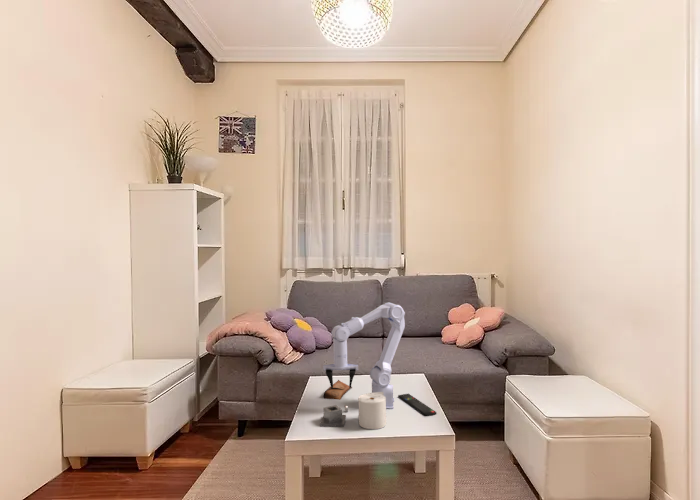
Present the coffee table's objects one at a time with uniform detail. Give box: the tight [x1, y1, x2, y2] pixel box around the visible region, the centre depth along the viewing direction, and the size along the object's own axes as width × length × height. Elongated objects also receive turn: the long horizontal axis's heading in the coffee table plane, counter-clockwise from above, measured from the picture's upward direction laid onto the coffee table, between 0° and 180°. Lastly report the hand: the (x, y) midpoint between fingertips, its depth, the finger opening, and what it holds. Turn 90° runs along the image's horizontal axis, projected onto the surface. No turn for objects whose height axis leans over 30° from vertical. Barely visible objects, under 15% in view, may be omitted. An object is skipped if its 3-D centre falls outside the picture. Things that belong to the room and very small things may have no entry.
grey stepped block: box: [322, 404, 343, 423], centre depth 166 cm, size 6×6×4 cm
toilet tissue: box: [358, 392, 387, 430], centre depth 164 cm, size 11×12×10 cm
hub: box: [319, 414, 347, 428], centre depth 166 cm, size 9×9×4 cm
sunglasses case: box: [322, 379, 353, 400], centre depth 199 cm, size 18×7×7 cm
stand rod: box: [343, 404, 349, 413], centre depth 175 cm, size 1×1×2 cm
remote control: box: [397, 393, 438, 417], centre depth 181 cm, size 5×24×1 cm, turn 21°
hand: (341, 387), depth 176 cm, fingers open, 7 cm apart
